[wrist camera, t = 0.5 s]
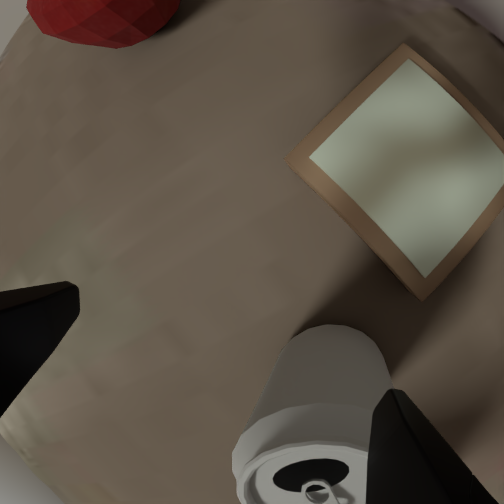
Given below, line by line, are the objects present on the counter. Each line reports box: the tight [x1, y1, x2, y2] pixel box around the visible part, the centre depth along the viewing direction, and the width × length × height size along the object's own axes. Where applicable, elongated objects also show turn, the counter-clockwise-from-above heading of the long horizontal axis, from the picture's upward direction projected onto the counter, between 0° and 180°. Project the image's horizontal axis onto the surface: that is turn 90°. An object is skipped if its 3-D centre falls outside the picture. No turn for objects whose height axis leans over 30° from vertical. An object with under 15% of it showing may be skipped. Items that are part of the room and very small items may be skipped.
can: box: [232, 324, 394, 504], centre depth 14 cm, size 8×8×12 cm
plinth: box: [284, 43, 504, 302], centre depth 16 cm, size 11×11×3 cm
